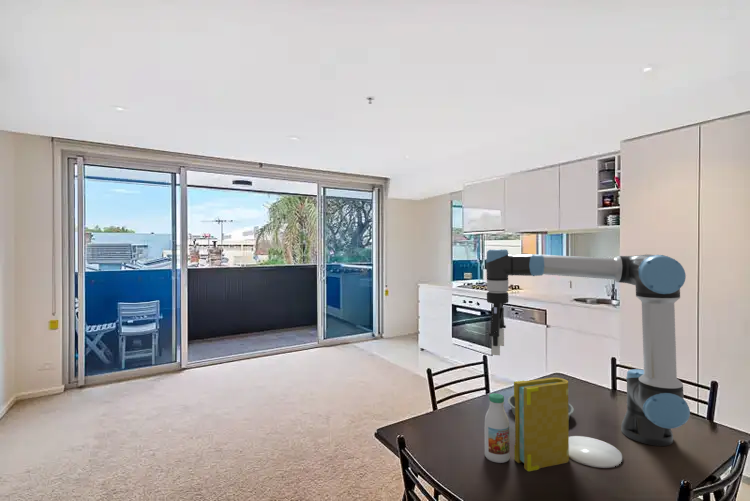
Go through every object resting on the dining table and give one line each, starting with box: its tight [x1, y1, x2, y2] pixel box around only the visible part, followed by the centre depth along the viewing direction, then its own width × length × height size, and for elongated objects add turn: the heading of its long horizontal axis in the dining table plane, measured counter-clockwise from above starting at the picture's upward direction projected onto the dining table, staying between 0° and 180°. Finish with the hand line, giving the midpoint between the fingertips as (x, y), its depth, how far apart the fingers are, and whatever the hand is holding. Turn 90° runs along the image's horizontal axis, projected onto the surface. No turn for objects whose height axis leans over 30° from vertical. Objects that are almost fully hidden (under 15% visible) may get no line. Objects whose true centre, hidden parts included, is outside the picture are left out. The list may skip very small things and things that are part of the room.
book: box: [513, 377, 570, 472], centre depth 124 cm, size 17×7×25 cm, turn 106°
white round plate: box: [569, 435, 623, 469], centre depth 128 cm, size 18×18×1 cm
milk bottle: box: [483, 392, 511, 464], centre depth 126 cm, size 8×8×20 cm
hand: (498, 350), depth 142 cm, fingers open, 13 cm apart
